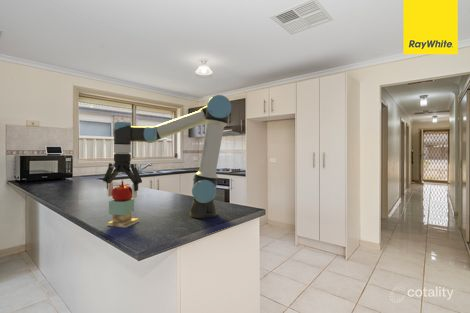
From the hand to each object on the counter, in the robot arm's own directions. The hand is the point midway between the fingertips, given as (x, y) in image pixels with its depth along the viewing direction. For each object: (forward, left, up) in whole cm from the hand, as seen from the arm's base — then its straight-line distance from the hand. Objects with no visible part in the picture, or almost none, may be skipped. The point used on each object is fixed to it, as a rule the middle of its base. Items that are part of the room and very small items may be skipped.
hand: (122, 197), depth 120 cm
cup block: (0, 0, -8) cm, 8 cm away
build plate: (0, 0, -13) cm, 13 cm away
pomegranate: (0, 0, -2) cm, 2 cm away
